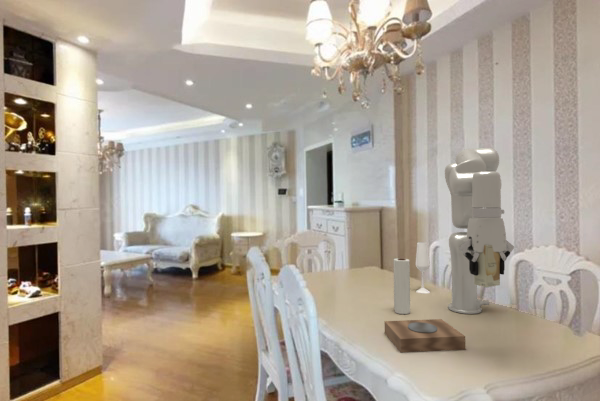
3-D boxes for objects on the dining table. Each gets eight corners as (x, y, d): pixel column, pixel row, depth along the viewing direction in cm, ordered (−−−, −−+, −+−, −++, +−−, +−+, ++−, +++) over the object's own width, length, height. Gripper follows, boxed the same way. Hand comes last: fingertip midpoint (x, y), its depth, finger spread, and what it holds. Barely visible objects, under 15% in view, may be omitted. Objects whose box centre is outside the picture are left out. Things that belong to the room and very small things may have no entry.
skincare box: (487, 288, 105) (486, 245, 105) (473, 285, 109) (473, 243, 109) (501, 285, 108) (500, 243, 108) (487, 282, 112) (487, 242, 112)
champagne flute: (428, 294, 176) (427, 243, 176) (414, 292, 179) (413, 243, 179) (431, 291, 181) (431, 242, 181) (417, 289, 185) (417, 241, 185)
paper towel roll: (410, 315, 145) (410, 260, 145) (395, 314, 146) (394, 260, 146) (409, 309, 152) (408, 257, 152) (394, 308, 153) (393, 257, 153)
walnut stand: (441, 330, 127) (441, 317, 127) (465, 349, 111) (465, 334, 111) (384, 332, 126) (384, 320, 126) (400, 352, 110) (400, 337, 110)
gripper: (506, 212, 113) (506, 270, 113) (451, 213, 111) (452, 272, 111) (523, 213, 105) (523, 275, 105) (464, 215, 104) (465, 278, 104)
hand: (486, 273), depth 108 cm, fingers closed on skincare box, 7 cm apart
